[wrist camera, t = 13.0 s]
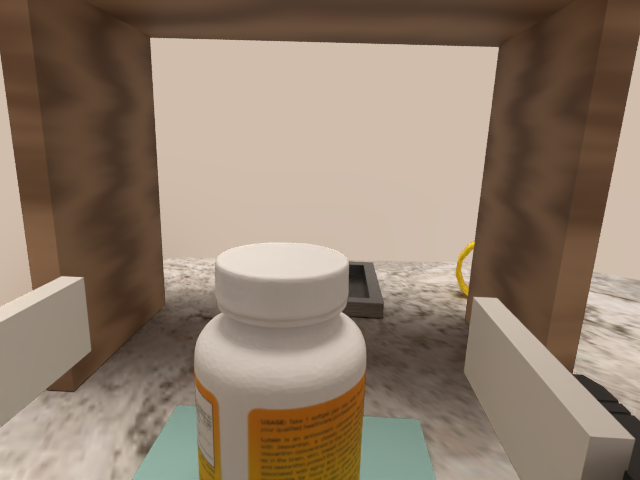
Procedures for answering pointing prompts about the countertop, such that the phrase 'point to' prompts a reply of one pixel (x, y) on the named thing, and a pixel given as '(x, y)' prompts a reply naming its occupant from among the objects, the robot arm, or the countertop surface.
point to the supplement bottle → (280, 368)
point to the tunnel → (314, 26)
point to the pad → (376, 450)
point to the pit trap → (363, 292)
